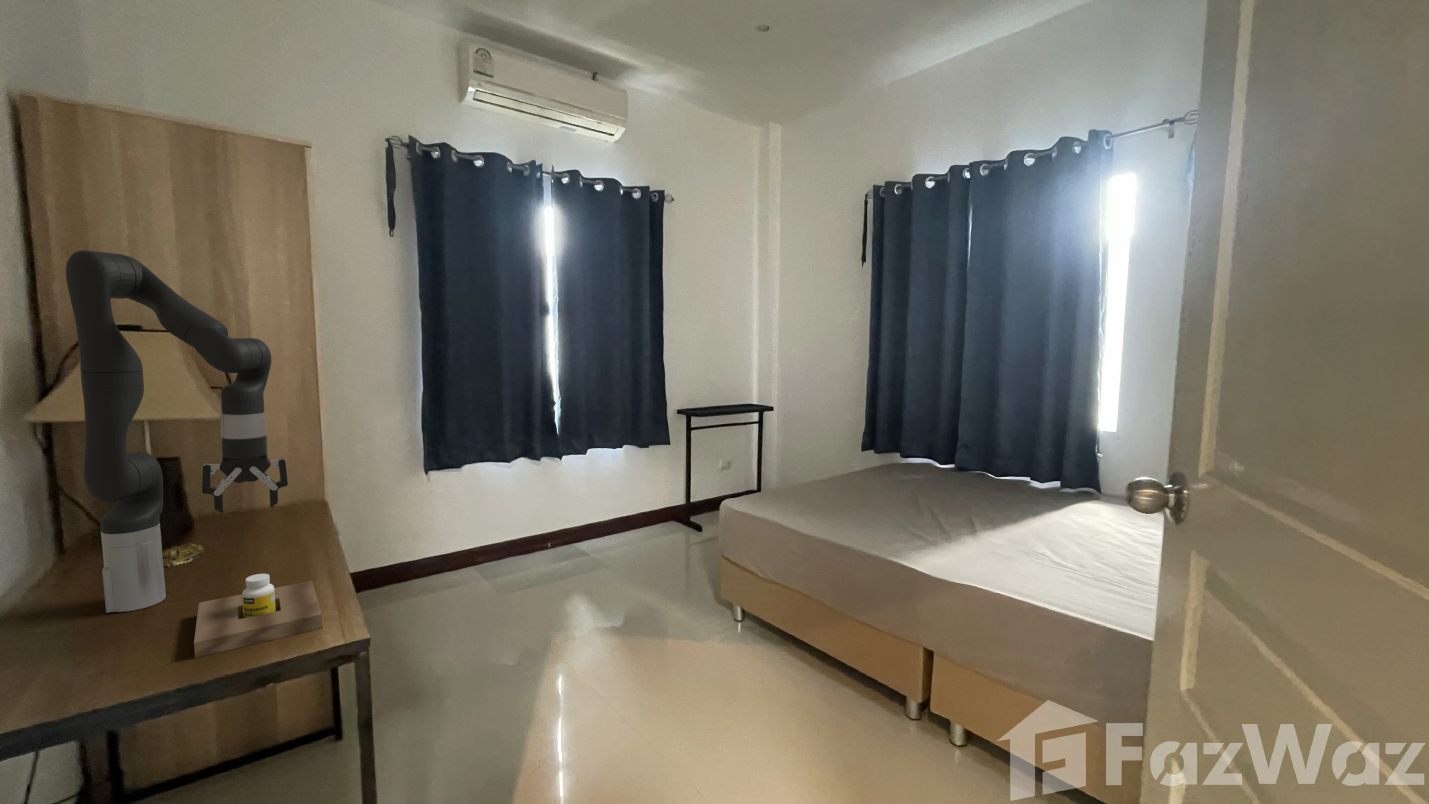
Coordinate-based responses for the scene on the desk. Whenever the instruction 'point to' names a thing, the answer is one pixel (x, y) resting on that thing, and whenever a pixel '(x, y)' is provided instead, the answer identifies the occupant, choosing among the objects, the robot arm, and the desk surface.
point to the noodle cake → (182, 554)
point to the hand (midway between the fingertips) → (247, 509)
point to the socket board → (255, 620)
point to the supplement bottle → (258, 596)
